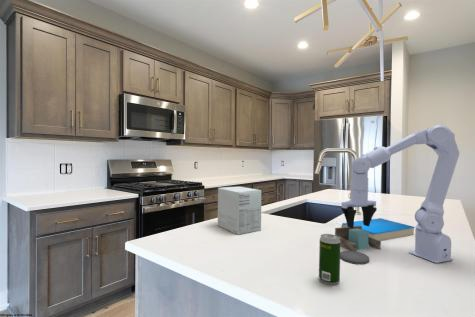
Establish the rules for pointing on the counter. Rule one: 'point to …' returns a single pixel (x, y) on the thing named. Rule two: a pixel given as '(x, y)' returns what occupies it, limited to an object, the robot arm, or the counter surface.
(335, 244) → the beer can
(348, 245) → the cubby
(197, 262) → the counter surface
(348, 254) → the coaster
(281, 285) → the counter surface
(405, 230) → the book
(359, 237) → the block
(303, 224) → the counter surface
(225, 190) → the supplement box
